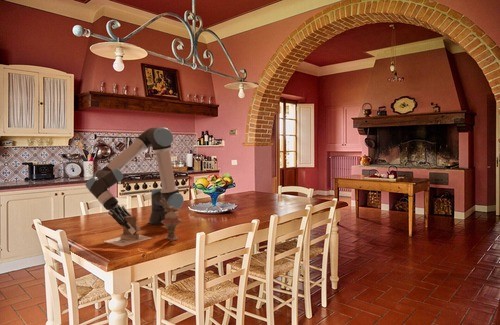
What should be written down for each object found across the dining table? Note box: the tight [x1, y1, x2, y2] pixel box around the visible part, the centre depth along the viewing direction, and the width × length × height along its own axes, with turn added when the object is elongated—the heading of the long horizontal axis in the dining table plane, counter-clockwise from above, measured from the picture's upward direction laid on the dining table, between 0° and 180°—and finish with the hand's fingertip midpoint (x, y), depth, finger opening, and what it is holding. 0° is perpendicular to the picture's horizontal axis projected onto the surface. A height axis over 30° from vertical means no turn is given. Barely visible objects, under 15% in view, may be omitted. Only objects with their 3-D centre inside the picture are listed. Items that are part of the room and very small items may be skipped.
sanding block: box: [120, 215, 140, 240], centre depth 191 cm, size 4×9×12 cm, turn 81°
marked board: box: [103, 234, 152, 247], centre depth 190 cm, size 20×16×1 cm
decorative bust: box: [160, 198, 183, 242], centre depth 195 cm, size 11×13×25 cm
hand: (136, 231), depth 191 cm, fingers closed on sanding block, 4 cm apart
